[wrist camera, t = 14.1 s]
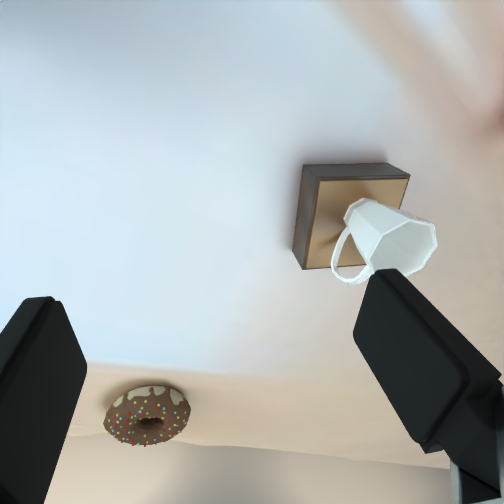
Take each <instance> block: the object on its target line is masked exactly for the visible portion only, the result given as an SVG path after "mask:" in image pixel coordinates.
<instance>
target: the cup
mask: <svg viewBox="0 0 504 504" xmlns="http://www.w3.org/2000/svg"><path fill="white" fill-rule="evenodd" d="M343 219H344V221H345V224H346V226H347V227H346V228H345V229H344V230H343V231H342V233H341V235H340V237H339V239H338V241H337V244H336V246H335V249H334V252H333V255H332V259H331V268H332V272H333V273H334V274H335V275H336V276H337V277H338V278H339V279H341V280H342V281H344V282H345V283H347V284H351V285H358V284H360V283H362V282H364V281H365V280H366V279H368V278H369V277H370V276H371V275H373V274H374V273H375V271H376V270H379V269H390V268H395V269H397V270H399V271H400V272H401V273H402V274H403V275H404V276H405V277H407V276H409V275H411V274H413V273H415V272H416V271H418V270H420V269H422V268H423V267H424V265H425V264H426V262H427V261H428V259H429V258H430V256H431V255H432V254H433V252H434V251H435V249H436V248H437V246H438V242H437V237H436V232H435V227H434V224H433V223H430V222H428V221H426V220H424V219H421V218H419V217H416V216H414V215H412V214H409V213H407V212H405V211H403V210H400V209H398V208H395V207H391V206H388V205H384V204H380V203H378V201H376V200H372V199H368V198H364V197H363V198H362V199H360V200H358V201H356V202H354V203H353V204H351V205H350V206H349V208H348V210H347V212H346V214H345V216H344V218H343ZM350 233H351V235H352V237H353V239H354V242H355V244H356V247H357V249H358V250H359V252H360V254H361V256H362V257H363V259H364V261H365V262H366V264H367V265H366V266H365V268H364V269H363V270H362V272H361V273H360V274H359V275H358V276H357V277H356V278H354V279H344V278H343V277H342V276H341V275H340V274H339V273H338V269H337V263H338V258H339V255H340V252H341V249H342V247H343V244H344V242H345V240H346V238H347V236H348V235H349V234H350Z"/></svg>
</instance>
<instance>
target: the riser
mask: <svg viewBox="0 0 504 504" xmlns="http://www.w3.org/2000/svg"><path fill="white" fill-rule="evenodd" d="M409 178H410V174H408V173H406V172H404V171H402V170H400V169H398V168H396V167H394V166H393V165H391V164H389V163H376V164H319V165H303V170H302V178H301V186H300V194H299V202H298V210H297V218H296V226H295V233H294V241H293V249H292V252H293V253H294V255H295V257H296V259H297V261H298V263H299V265H300V266H301V268H302V270H308V269H321V268H331V259H332V255H333V252H334V249H335V246H336V244H337V241H338V239H339V237H340V235H341V233H342V231H343V230H344V229H345V228H346V227H347V226H346V224H345V221H344V219H343V218H344V216H345V214H346V212H347V210H348V208H349V206H350V205H351V204H353V203H354V202H356V201H358V200H360V199H362V198H363V197H364V198H368V199H372V200H376V201H378V203H380V204H384V205H388V206H391V207H395V208H398V209H400V206H401V203H402V200H403V197H404V194H405V191H406V188H407V184H408V181H409ZM359 265H367V264H366V262H365V261H364V259H363V257H362V256H361V254H360V252H359V250H358V249H357V247H356V244H355V242H354V239H353V237H352V235H351V233H350V234H349V235H348V236H347V238H346V240H345V242H344V244H343V247H342V249H341V252H340V255H339V258H338V263H337V267H346V266H359Z"/></svg>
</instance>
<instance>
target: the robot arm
mask: <svg viewBox="0 0 504 504" xmlns="http://www.w3.org/2000/svg"><path fill="white" fill-rule="evenodd" d="M353 338H354V341H355V343H356V345H357V346H358V348H359V350H360V351H361V353H362V355H363V356H364V358H365V360H366V362H367V363H368V365H369V367H370V368H371V370H372V372H373V374H374V375H375V377H376V379H377V380H378V382H379V384H380V385H381V387H382V389H383V391H384V392H385V394H386V396H387V397H388V399H389V401H390V402H391V404H392V406H393V408H394V409H395V411H396V413H397V414H398V416H399V418H400V420H401V421H402V423H403V425H404V426H405V428H406V430H407V431H408V433H409V435H410V436H411V438H412V439H413V440H414V441H415V442H416V443H419V444H420V446H421V447H422V449H423V451H424V452H425V454H427V453H432V452H437V451H442V450H443V449H444V450H445V452H446V453H447V455H448V456H449V458H450V504H504V385H503V384H502V383H501V382H500V381H499V380H498V379H499V378H500V376H501V375H502V374H501V373H500V372H499V371H498V370H497V369H496V368H495V367H494V366H493V365H492V364H491V363H490V362H489V361H488V360H487V359H486V358H485V357H484V356H483V355H482V354H481V353H480V352H479V351H478V350H477V349H476V348H475V347H474V346H473V345H472V344H471V343H470V342H469V341H468V340H467V339H466V338H465V337H464V336H463V335H462V334H461V333H460V332H459V331H458V330H457V329H456V328H455V327H454V326H453V325H452V324H451V323H450V322H449V321H448V320H447V319H446V318H445V317H444V316H443V315H442V314H441V313H440V312H439V311H438V310H437V309H436V308H435V307H434V306H433V305H432V304H431V303H430V302H429V301H428V300H427V299H426V298H425V297H424V296H423V295H422V294H421V293H420V292H419V291H418V290H417V289H416V288H415V287H414V286H413V285H412V283H411V282H410V281H409V280H408V279H407V278H406V277H405V276H404V275H403V274H402V273H401V272H400V271H399V270H397V269H395V268H390V269H379V270H376V271H375V273H374V274H373V275H371V276H370V278H369V282H368V285H367V288H366V291H365V295H364V298H363V301H362V304H361V307H360V311H359V314H358V317H357V320H356V324H355V327H354V330H353ZM86 374H87V363H86V360H85V358H84V355H83V353H82V350H81V348H80V345H79V343H78V341H77V338H76V336H75V333H74V331H73V329H72V326H71V324H70V321H69V319H68V316H67V314H66V312H65V309H64V307H63V304H62V303H61V302H60V301H55V299H54V298H53V297H51V296H47V297H35V298H27V299H25V300H24V301H23V302H22V303H21V305H20V306H19V308H18V309H17V311H16V312H15V313H14V315H13V316H12V318H11V319H10V321H9V322H8V323H7V325H6V326H5V328H4V329H3V331H2V332H1V334H0V504H44V501H45V498H46V495H47V492H48V489H49V486H50V483H51V480H52V477H53V474H54V471H55V468H56V465H57V462H58V459H59V456H60V453H61V450H62V447H63V444H64V441H65V438H66V435H67V432H68V429H69V426H70V423H71V420H72V417H73V414H74V411H75V408H76V404H77V401H78V398H79V395H80V392H81V389H82V386H83V383H84V380H85V377H86Z"/></svg>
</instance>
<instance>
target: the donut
mask: <svg viewBox="0 0 504 504" xmlns="http://www.w3.org/2000/svg"><path fill="white" fill-rule="evenodd" d="M190 411H191V409H190V405H189V403H188V401H187V400H186V399H185V398H184V397H183V395H182V394H180V393H178V392H177V391H175V390H173V389H171V388H169V387H168V386H167V387H163V386H145V387H140V388H137V389H134V390H131V391H129V392H128V393H126V394H124V395H123V396H121V397H119V398H118V399H117V400H116V401H115V402H114V404H112V405H111V408H110V409H109V411H108V412H107V413H106V414H107V415H106V417H105V420H104V423H103V424H104V426H105V429H106V430H107V431H108V432H107V433H110V434H111V435H113V436H114V437H115V438H116V439H117V440H118V441H121V442H126V443H130V444H132V446H134V445H136V446H138V445H144V447H145V446H146V445H152V444H157V443H160V442H165V441H168V440H169V439H171V438H173V437H174V436H175V435H177V434H178V433H179V432H180V433H181V432H182V430H183V429H184V427H185V426H186V424H187V421H188V419H189V416H190Z"/></svg>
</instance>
